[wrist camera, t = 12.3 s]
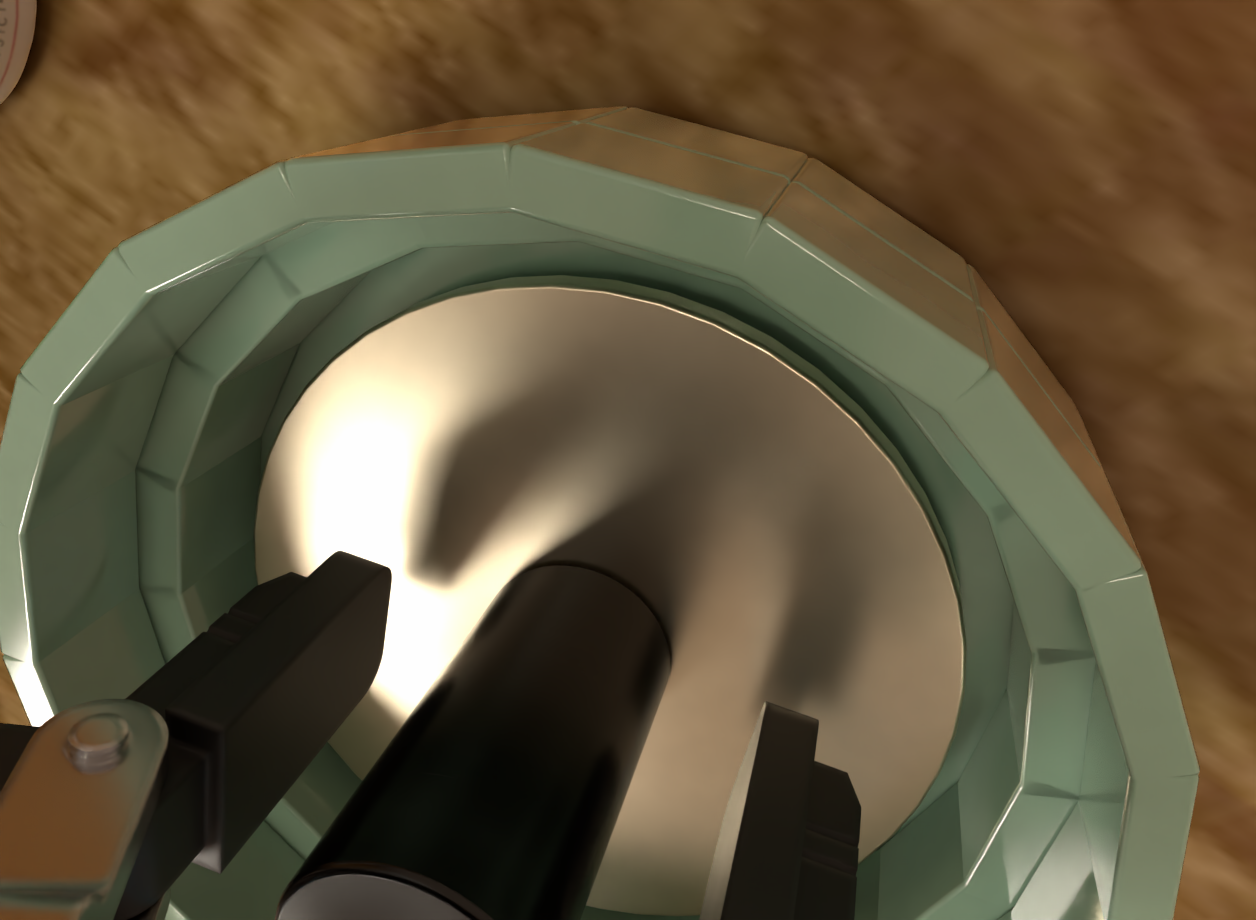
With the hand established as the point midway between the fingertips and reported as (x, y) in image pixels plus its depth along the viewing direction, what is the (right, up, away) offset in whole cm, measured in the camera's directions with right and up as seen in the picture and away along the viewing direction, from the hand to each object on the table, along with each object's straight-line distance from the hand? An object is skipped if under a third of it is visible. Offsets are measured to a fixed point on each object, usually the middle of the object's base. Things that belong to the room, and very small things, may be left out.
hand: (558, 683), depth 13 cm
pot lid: (0, +1, +1) cm, 1 cm away
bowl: (+1, +1, +2) cm, 3 cm away
